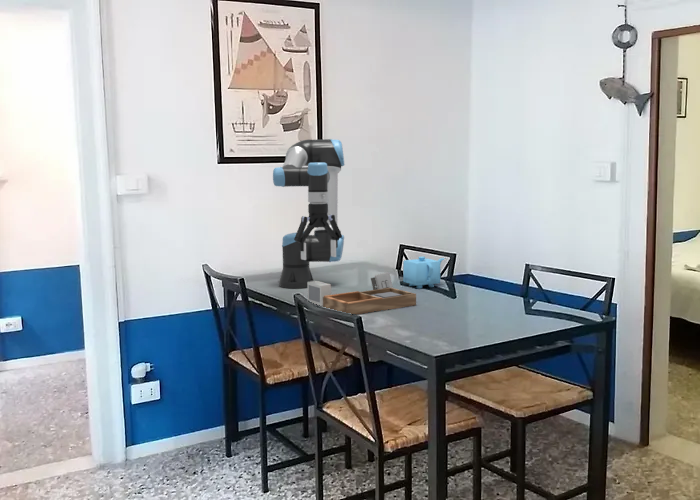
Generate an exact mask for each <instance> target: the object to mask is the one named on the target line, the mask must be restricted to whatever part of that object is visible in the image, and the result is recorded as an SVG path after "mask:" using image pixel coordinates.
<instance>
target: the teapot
mask: <svg viewBox="0 0 700 500" xmlns="http://www.w3.org/2000/svg"><path fill="white" fill-rule="evenodd" d="M445 259H446V258H445V257H443V258H442V257H441V258H439V259H437V260H436V259H431V258H426V257H425V256H422V255H421V256H418V259H406V260H403V261H402V262H403V272H402V273H403V276H402V277H403V279H402V280H403V283H406V284H408V286H409V287H415V286H416V289H423V286H426V285H428V287H429V288H435V287H434V286H435V284H441V264H442V262H443V260H445Z"/></svg>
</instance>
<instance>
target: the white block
mask: <svg viewBox="0 0 700 500" xmlns="http://www.w3.org/2000/svg"><path fill="white" fill-rule="evenodd" d="M307 284H308V287H307V301H308V300H309V301H311V302H312V303H311V304H313V303H314V304H313V305H316V304H317V306H319V305H320V306H319V307H323V297H324V296H326V295H332V284H330V283H326V282H323V281H319V280H314V281H312V282H307Z"/></svg>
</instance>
